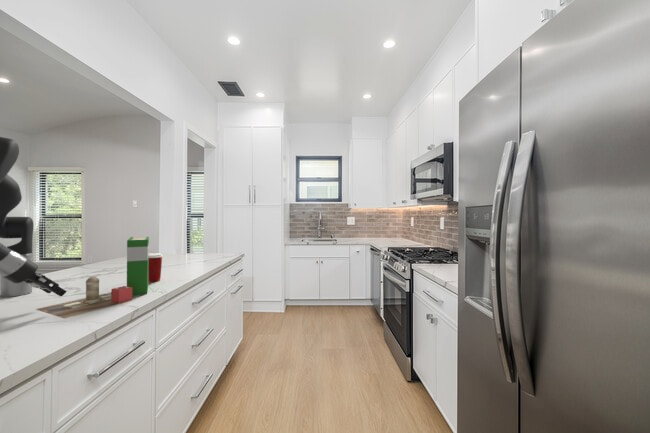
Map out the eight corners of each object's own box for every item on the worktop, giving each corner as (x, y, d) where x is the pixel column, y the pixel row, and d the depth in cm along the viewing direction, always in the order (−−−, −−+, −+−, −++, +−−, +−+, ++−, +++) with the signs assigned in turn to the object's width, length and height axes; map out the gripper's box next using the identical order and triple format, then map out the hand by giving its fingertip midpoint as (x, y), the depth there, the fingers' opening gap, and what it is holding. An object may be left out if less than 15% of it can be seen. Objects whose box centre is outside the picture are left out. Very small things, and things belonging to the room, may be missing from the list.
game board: (35, 310, 102) (35, 309, 102) (104, 294, 122) (104, 293, 122) (64, 320, 94) (64, 318, 94) (133, 301, 114) (133, 299, 114)
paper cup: (166, 279, 149) (166, 253, 149) (152, 283, 142) (153, 255, 142) (155, 278, 152) (155, 252, 152) (141, 281, 145) (142, 254, 144)
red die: (111, 301, 112) (111, 288, 112) (124, 297, 117) (124, 285, 117) (118, 303, 110) (119, 290, 110) (132, 299, 115) (132, 287, 115)
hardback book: (130, 286, 134) (130, 237, 134) (148, 285, 138) (148, 236, 138) (126, 296, 119) (127, 240, 119) (147, 294, 123) (147, 239, 123)
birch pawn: (80, 301, 111) (80, 277, 111) (96, 298, 116) (96, 274, 116) (88, 303, 108) (88, 278, 108) (104, 299, 114) (104, 276, 114)
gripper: (34, 258, 91) (77, 285, 102) (14, 255, 97) (56, 281, 107) (11, 278, 86) (58, 304, 97) (-9, 273, 92) (38, 299, 103)
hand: (57, 292), depth 102 cm, fingers open, 8 cm apart
